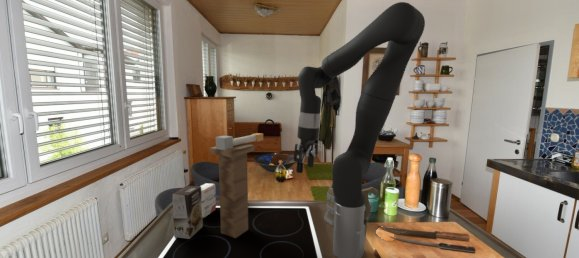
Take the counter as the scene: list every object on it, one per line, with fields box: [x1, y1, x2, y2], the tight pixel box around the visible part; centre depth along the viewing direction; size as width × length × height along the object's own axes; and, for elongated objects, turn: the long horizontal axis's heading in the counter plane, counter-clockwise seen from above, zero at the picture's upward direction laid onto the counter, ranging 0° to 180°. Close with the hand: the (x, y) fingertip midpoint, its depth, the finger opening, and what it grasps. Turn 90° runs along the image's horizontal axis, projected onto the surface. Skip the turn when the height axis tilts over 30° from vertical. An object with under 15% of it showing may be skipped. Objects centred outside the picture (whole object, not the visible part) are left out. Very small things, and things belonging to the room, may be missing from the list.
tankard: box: [323, 183, 379, 227], centre depth 105 cm, size 20×13×15 cm, turn 73°
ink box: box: [200, 182, 217, 219], centre depth 112 cm, size 8×5×12 cm, turn 160°
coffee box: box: [171, 185, 204, 240], centre depth 97 cm, size 9×6×16 cm
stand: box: [209, 143, 256, 239], centre depth 96 cm, size 10×12×32 cm
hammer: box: [215, 132, 264, 150], centre depth 98 cm, size 22×4×4 cm, turn 149°
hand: (305, 169), depth 96 cm, fingers open, 8 cm apart
